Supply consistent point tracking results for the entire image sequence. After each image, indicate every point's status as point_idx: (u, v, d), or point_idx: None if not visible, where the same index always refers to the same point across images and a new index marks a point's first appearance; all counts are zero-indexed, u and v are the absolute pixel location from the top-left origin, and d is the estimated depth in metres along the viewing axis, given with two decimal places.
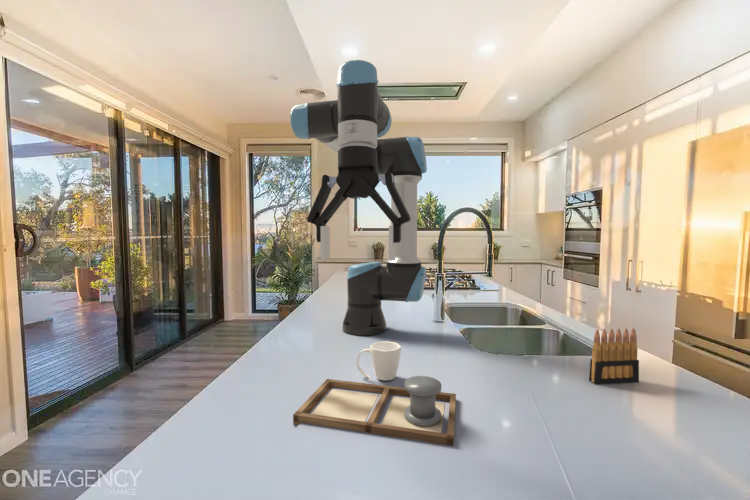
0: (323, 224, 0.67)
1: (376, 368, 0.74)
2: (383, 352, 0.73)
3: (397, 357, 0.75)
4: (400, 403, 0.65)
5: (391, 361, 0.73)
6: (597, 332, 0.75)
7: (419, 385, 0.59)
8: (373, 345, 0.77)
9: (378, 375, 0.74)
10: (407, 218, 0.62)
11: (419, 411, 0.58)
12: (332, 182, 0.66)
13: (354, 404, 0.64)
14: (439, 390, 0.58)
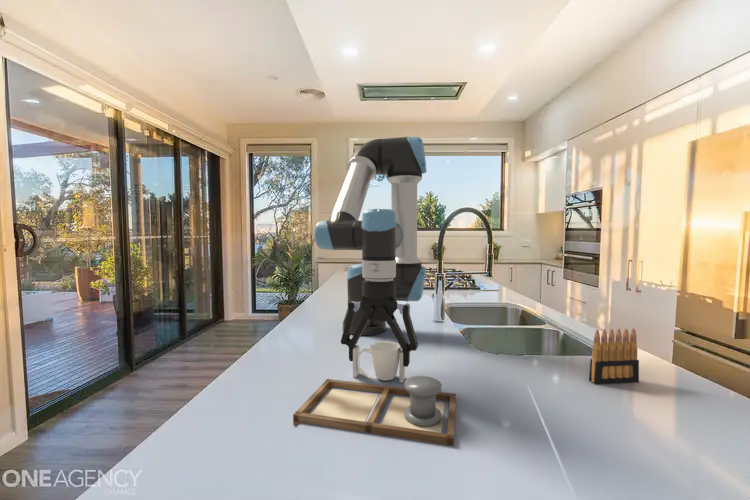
0: (355, 344, 0.78)
1: (376, 368, 0.74)
2: (383, 352, 0.73)
3: (397, 357, 0.75)
4: (400, 403, 0.65)
5: (391, 361, 0.73)
6: (597, 332, 0.75)
7: (419, 385, 0.59)
8: (373, 345, 0.77)
9: (378, 375, 0.74)
10: (415, 348, 0.73)
11: (419, 411, 0.58)
12: (357, 307, 0.77)
13: (354, 404, 0.64)
14: (439, 390, 0.58)
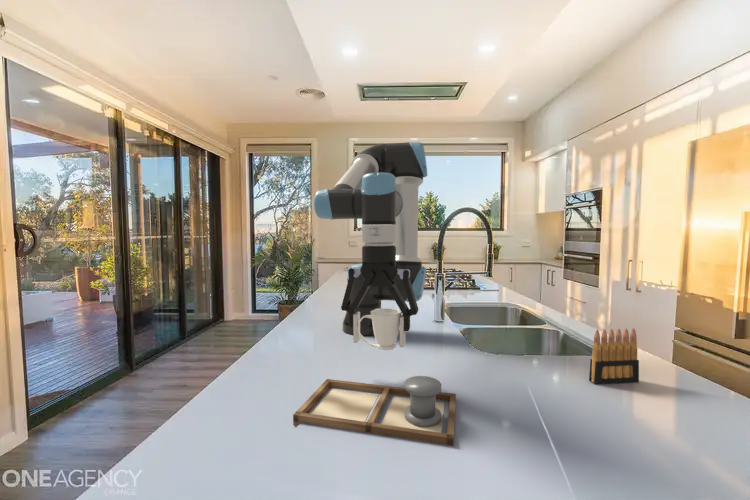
0: (355, 311, 0.78)
1: (377, 333, 0.74)
2: (384, 317, 0.73)
3: (398, 322, 0.75)
4: (400, 403, 0.65)
5: (392, 326, 0.73)
6: (597, 332, 0.75)
7: (419, 385, 0.59)
8: (373, 311, 0.77)
9: (379, 340, 0.75)
10: (415, 312, 0.73)
11: (419, 411, 0.58)
12: (357, 273, 0.76)
13: (354, 404, 0.64)
14: (439, 390, 0.58)
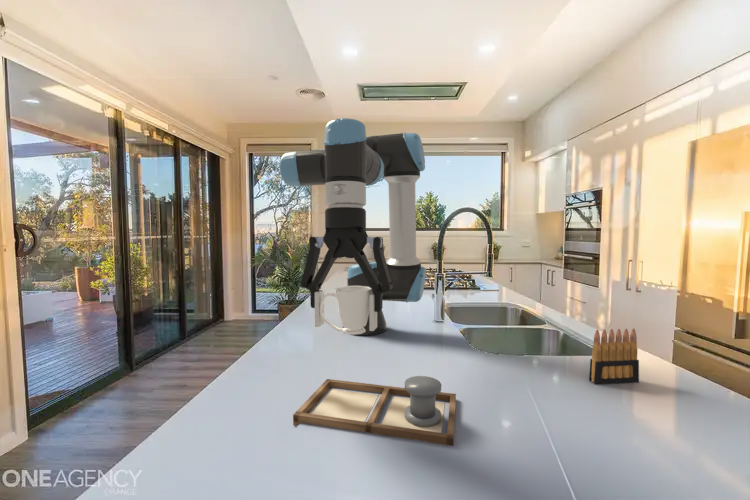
0: (318, 288, 0.65)
1: (341, 314, 0.61)
2: (349, 293, 0.60)
3: (367, 301, 0.62)
4: (400, 403, 0.65)
5: (360, 305, 0.60)
6: (597, 332, 0.75)
7: (419, 385, 0.59)
8: (339, 288, 0.64)
9: (344, 322, 0.61)
10: (388, 288, 0.60)
11: (419, 411, 0.58)
12: (320, 243, 0.64)
13: (354, 404, 0.64)
14: (439, 390, 0.58)
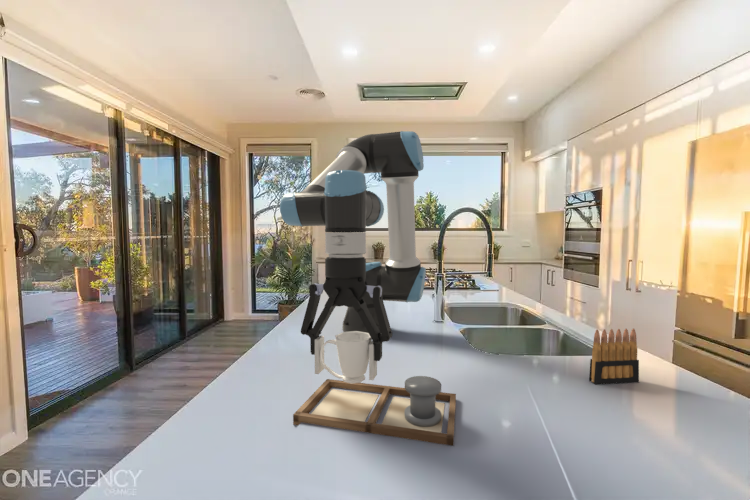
0: (318, 335, 0.65)
1: (341, 363, 0.62)
2: (349, 343, 0.60)
3: (367, 349, 0.62)
4: (400, 403, 0.65)
5: (359, 354, 0.61)
6: (597, 332, 0.75)
7: (419, 385, 0.59)
8: (339, 335, 0.64)
9: (344, 371, 0.62)
10: (388, 338, 0.60)
11: (419, 411, 0.58)
12: (320, 290, 0.64)
13: (354, 404, 0.64)
14: (439, 390, 0.58)
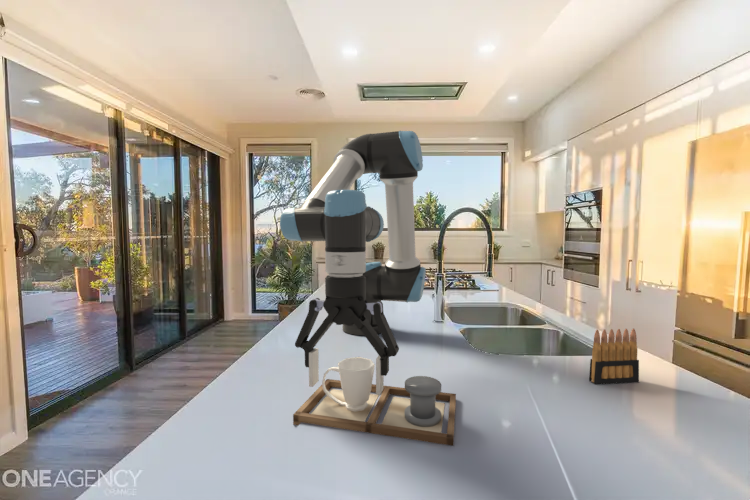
0: (312, 348, 0.65)
1: (344, 391, 0.62)
2: (352, 372, 0.60)
3: (370, 377, 0.62)
4: (400, 403, 0.65)
5: (362, 383, 0.61)
6: (597, 332, 0.75)
7: (419, 385, 0.59)
8: (342, 362, 0.65)
9: (347, 399, 0.62)
10: (395, 353, 0.60)
11: (419, 411, 0.58)
12: (320, 307, 0.64)
13: None
14: (439, 390, 0.58)
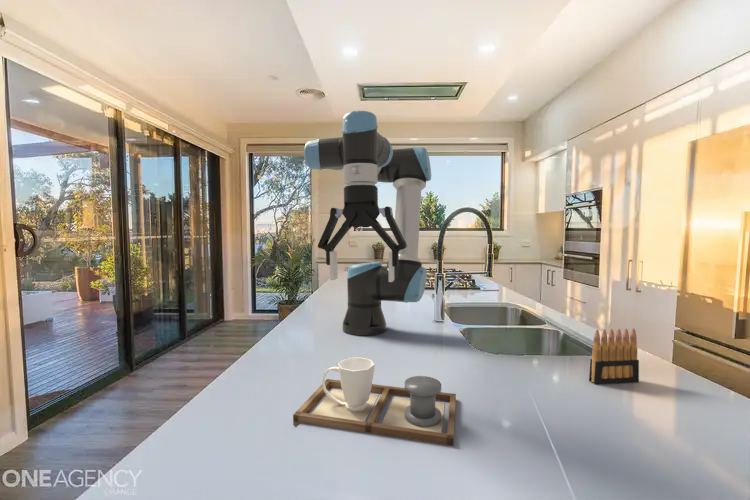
0: (332, 249, 0.78)
1: (344, 391, 0.62)
2: (352, 372, 0.60)
3: (370, 377, 0.62)
4: (400, 403, 0.65)
5: (362, 383, 0.61)
6: (597, 332, 0.75)
7: (419, 385, 0.59)
8: (342, 362, 0.65)
9: (347, 399, 0.62)
10: (404, 246, 0.73)
11: (419, 411, 0.58)
12: (339, 214, 0.77)
13: None
14: (439, 390, 0.58)
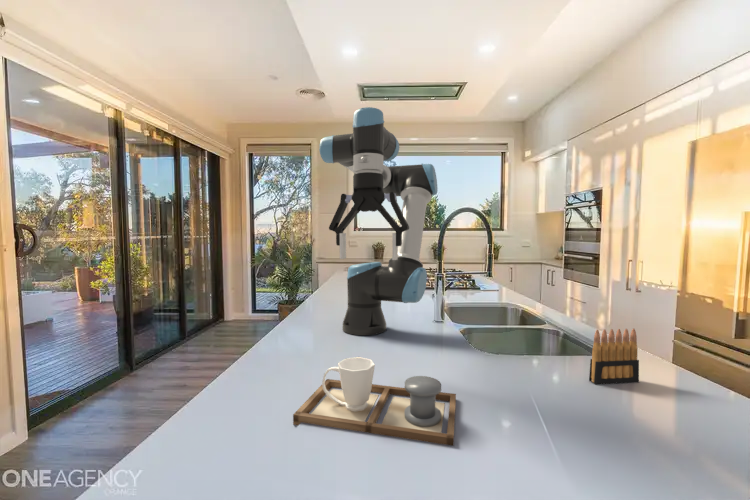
0: (341, 231, 0.87)
1: (344, 391, 0.62)
2: (352, 372, 0.60)
3: (370, 377, 0.62)
4: (400, 403, 0.65)
5: (362, 383, 0.61)
6: (597, 332, 0.75)
7: (419, 385, 0.59)
8: (342, 362, 0.65)
9: (347, 399, 0.62)
10: (406, 227, 0.81)
11: (419, 411, 0.58)
12: (348, 199, 0.85)
13: None
14: (439, 390, 0.58)
